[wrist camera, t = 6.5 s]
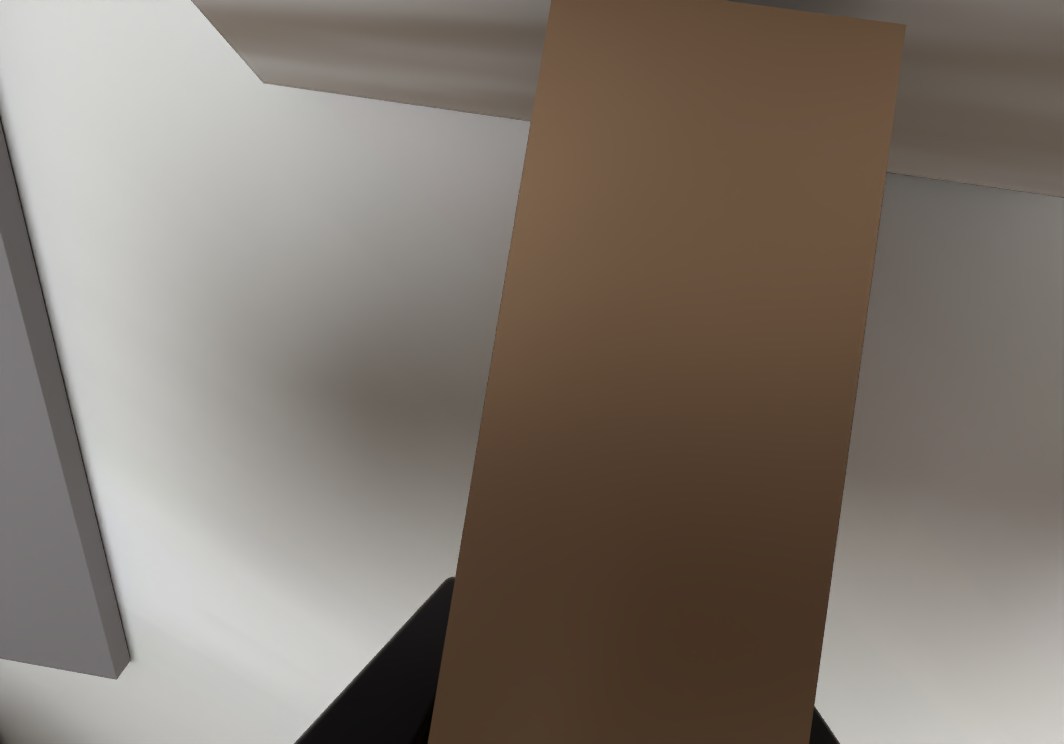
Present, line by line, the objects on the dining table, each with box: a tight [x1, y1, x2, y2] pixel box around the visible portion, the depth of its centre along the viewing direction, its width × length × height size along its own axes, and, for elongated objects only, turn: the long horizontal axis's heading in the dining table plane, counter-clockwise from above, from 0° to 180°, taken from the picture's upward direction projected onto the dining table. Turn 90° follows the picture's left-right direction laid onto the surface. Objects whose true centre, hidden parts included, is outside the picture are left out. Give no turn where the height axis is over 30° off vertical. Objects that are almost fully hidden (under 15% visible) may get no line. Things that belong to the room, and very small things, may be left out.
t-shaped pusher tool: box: [191, 0, 1064, 744], centre depth 8 cm, size 12×12×6 cm
